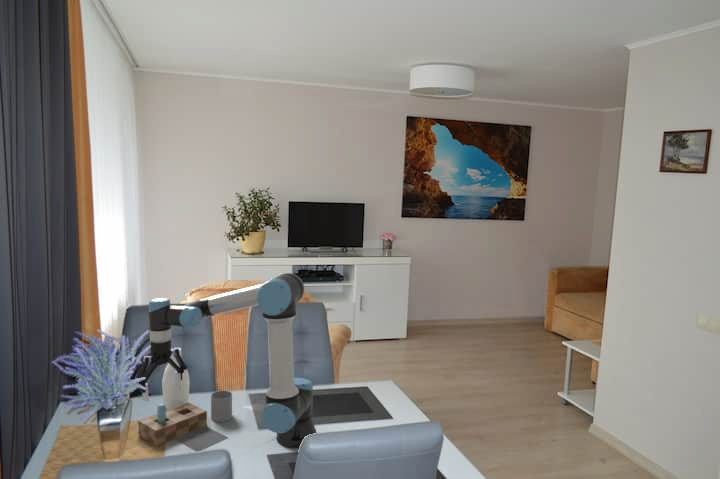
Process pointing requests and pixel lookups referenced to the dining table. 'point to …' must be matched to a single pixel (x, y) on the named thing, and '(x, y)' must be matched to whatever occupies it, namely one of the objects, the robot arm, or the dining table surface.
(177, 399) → the bottle
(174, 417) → the block
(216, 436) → the mat
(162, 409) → the peg
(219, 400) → the cup
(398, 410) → the dining table surface
